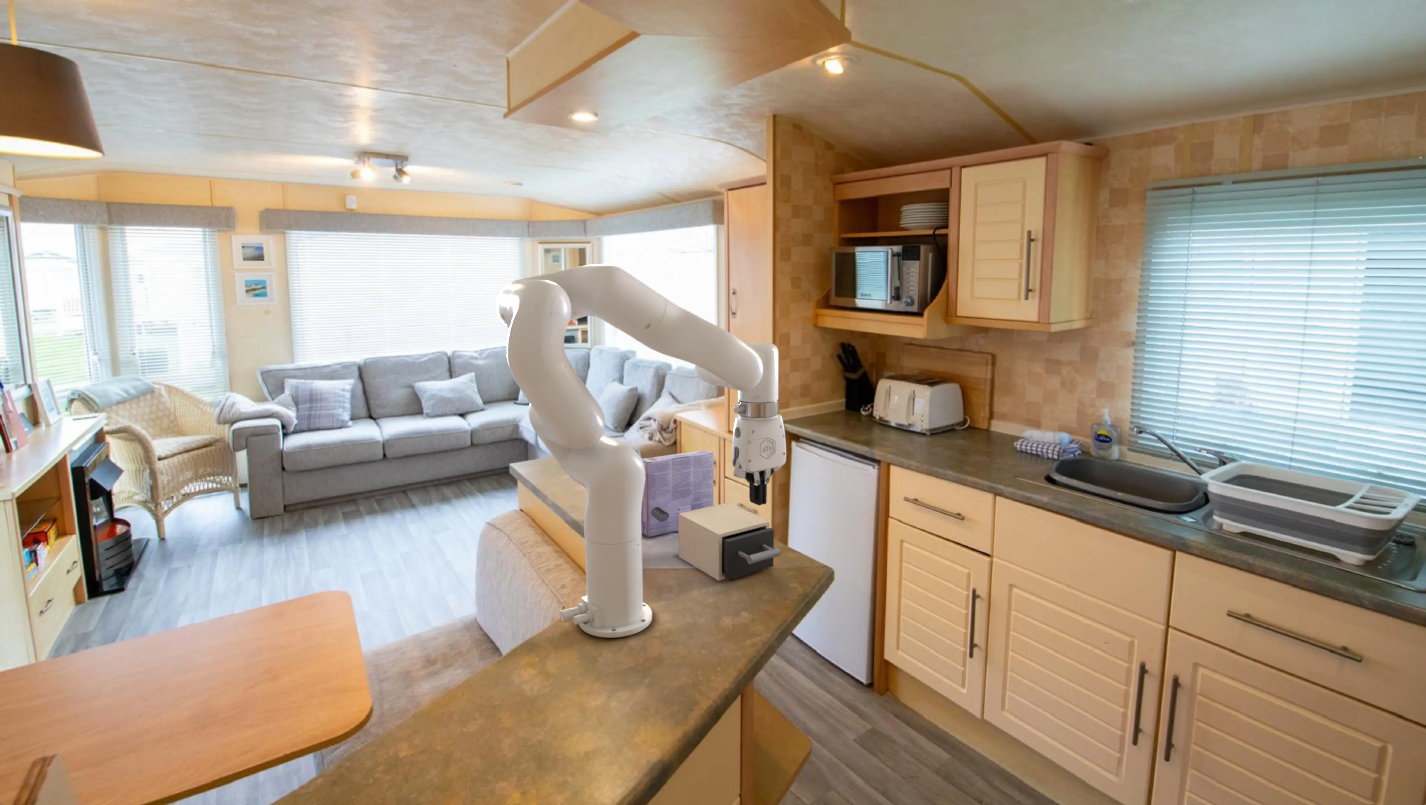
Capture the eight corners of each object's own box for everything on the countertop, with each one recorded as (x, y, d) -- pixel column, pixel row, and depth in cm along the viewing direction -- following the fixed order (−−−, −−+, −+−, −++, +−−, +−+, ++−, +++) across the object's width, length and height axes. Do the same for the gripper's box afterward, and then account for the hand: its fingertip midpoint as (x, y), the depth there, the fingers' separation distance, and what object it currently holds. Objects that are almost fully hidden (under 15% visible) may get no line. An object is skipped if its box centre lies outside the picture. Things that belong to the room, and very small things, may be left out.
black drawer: (788, 573, 137) (789, 536, 135) (742, 588, 130) (742, 549, 129) (733, 545, 151) (733, 510, 150) (689, 557, 145) (689, 521, 143)
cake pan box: (707, 516, 172) (707, 447, 168) (718, 522, 167) (718, 451, 164) (637, 532, 161) (636, 458, 158) (648, 539, 157) (646, 463, 154)
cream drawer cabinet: (768, 565, 143) (769, 521, 141) (718, 580, 135) (718, 534, 134) (726, 543, 154) (727, 502, 153) (678, 556, 147) (678, 513, 146)
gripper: (738, 417, 123) (738, 516, 126) (801, 407, 131) (800, 500, 135) (713, 410, 129) (714, 505, 132) (775, 401, 137) (775, 490, 141)
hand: (758, 502), depth 133 cm, fingers closed
